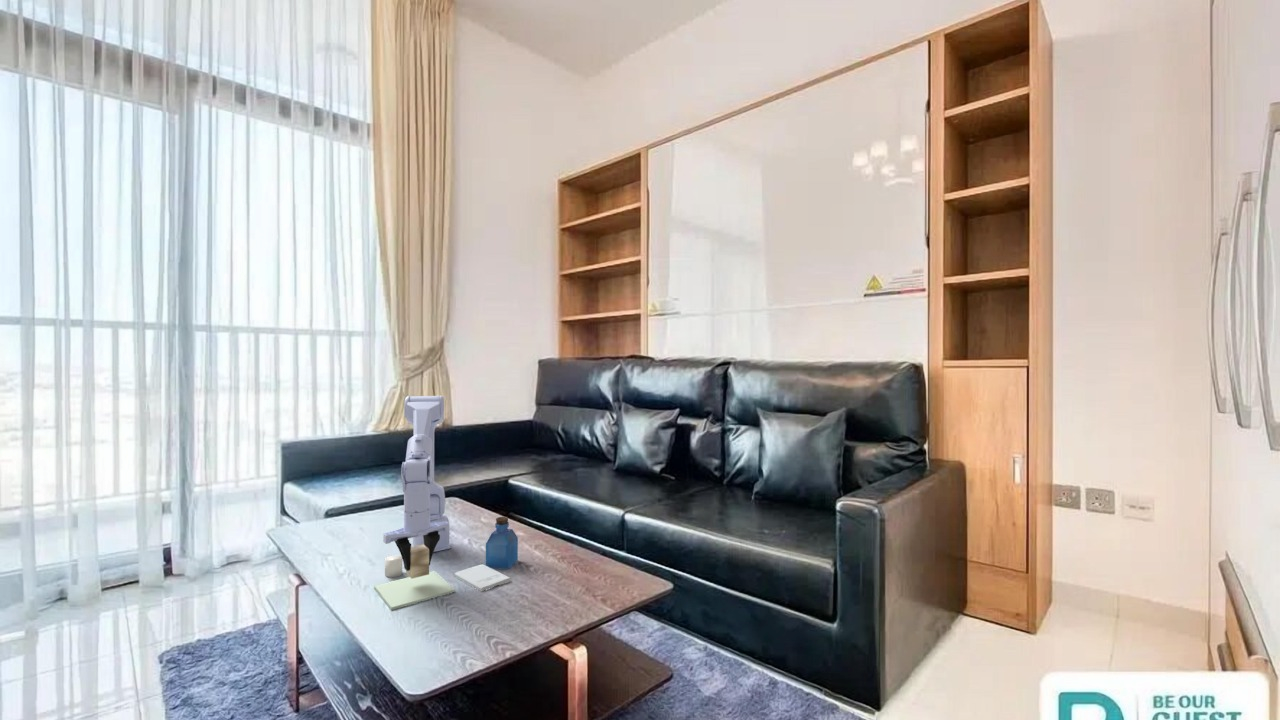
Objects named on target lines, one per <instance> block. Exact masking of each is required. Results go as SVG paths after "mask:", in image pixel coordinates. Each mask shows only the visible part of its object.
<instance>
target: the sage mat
mask: <svg viewBox="0 0 1280 720" xmlns="http://www.w3.org/2000/svg"><path fill="white" fill-rule="evenodd" d="M373 586H374V587H373V589H374V590H375V591H376V593H377V594H378V595H379V596H380V598H381V599H382V600H383V602H384V603H385V604H386V606H387V607H388V608H389V610H390V611H393V610H397V609H401V608H404V606H405V607H408V606H411V604H412V605H415V604H419V603H421V602H420V601H422V602H425V601H424V600H426V601H428V600H427V599H429V600H431V599H430V598H433V599H435V598H434V597H437V596H440V597H443V596H442V595H444V596H446V595H445V594H447V595H450V594H449V593H451V594H453V593H452V592H454V593H456V589H455V588H454V587H453V586H452V585H451V584H450V583H448V582H447V581H446V580H445V579H444V578H443V577H442V576H441V575H440V574H439V573H437V572H436V571H435V570H432V571H429V574H428V575H424V576H420V577H417V578H413V579H411V578H410V577H409V576H408V577H405V578H400V579H396V580H392V581H389V582H384V583H380V584H377V585H373ZM437 598H438V597H437ZM418 602H419V603H418ZM414 603H415V604H414ZM407 605H408V606H407Z"/></svg>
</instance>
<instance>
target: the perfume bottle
mask: <svg viewBox="0 0 1280 720" xmlns="http://www.w3.org/2000/svg"><path fill="white" fill-rule="evenodd" d="M508 520H509V517H508V516H499V517H497V518H495V521H496V523H495V526H494V527H495V530H494V531H492V532H491V534H490V535H489V538H488V539H487V540H486V543H485V565H486V566H488V567H490V568H492V569H498V568H501V569H500V570H509V569H511V568H512V566H514V564H515V563H517V561H519V559H518V558H519V556H518V553H519V548H518V547H519V544H518V543H519V542H518V541H519V537H518V535H517V534H516V532H515V531H514V530H513V528H509V526H510V523H509V521H508Z"/></svg>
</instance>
